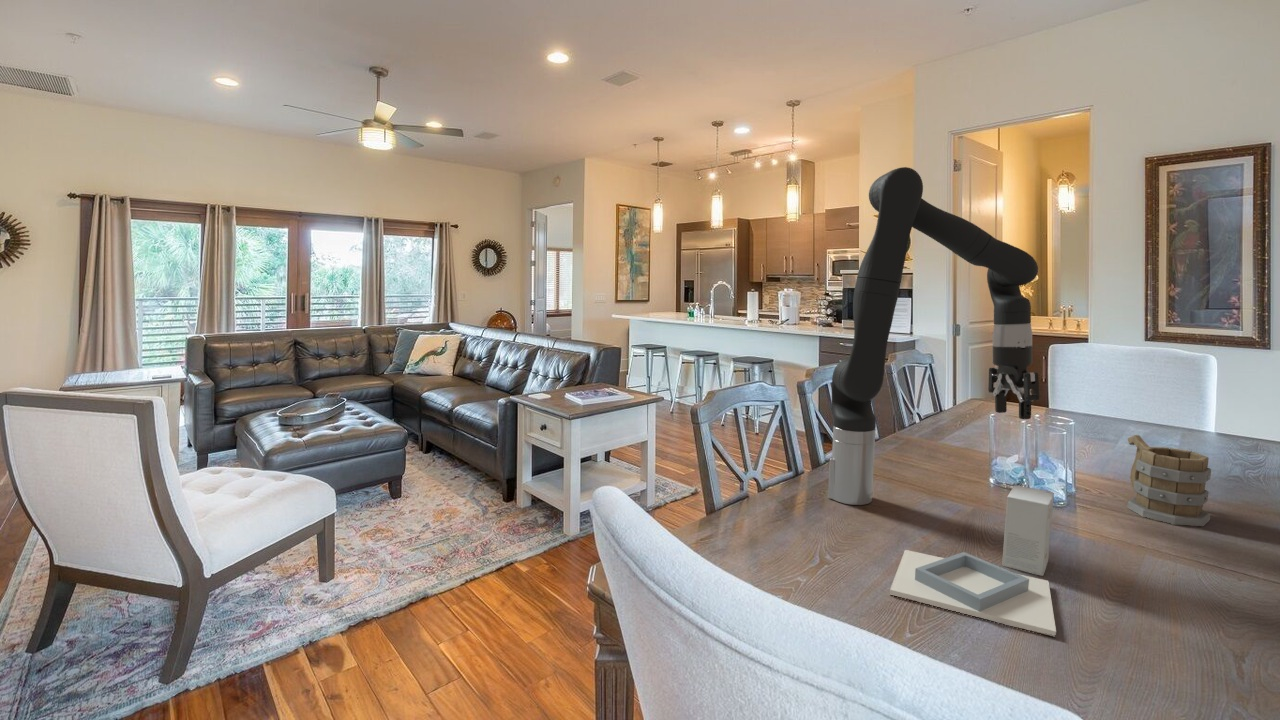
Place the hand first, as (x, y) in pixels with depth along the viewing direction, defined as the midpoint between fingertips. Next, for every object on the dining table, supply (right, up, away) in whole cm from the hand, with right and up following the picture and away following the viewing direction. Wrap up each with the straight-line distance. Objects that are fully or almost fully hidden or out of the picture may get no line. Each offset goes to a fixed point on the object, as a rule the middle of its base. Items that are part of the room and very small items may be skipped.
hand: (1012, 415), depth 132 cm
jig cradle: (-30, -25, -36) cm, 53 cm away
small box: (-14, -24, -26) cm, 39 cm away
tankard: (+32, -21, 0) cm, 39 cm away
